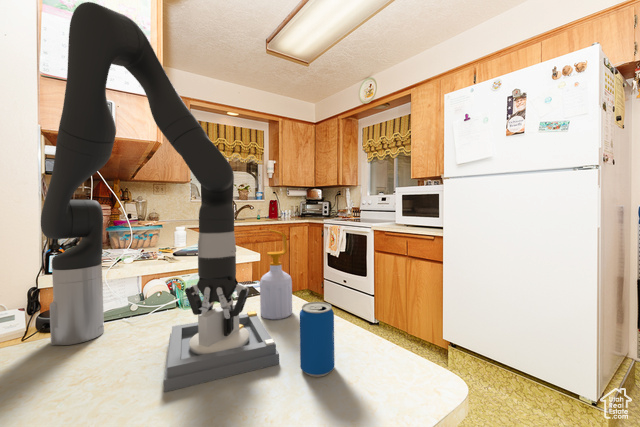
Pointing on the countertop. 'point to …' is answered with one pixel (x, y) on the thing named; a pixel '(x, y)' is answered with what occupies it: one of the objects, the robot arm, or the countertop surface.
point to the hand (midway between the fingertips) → (218, 333)
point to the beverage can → (317, 339)
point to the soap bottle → (276, 288)
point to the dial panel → (217, 355)
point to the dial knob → (217, 333)
